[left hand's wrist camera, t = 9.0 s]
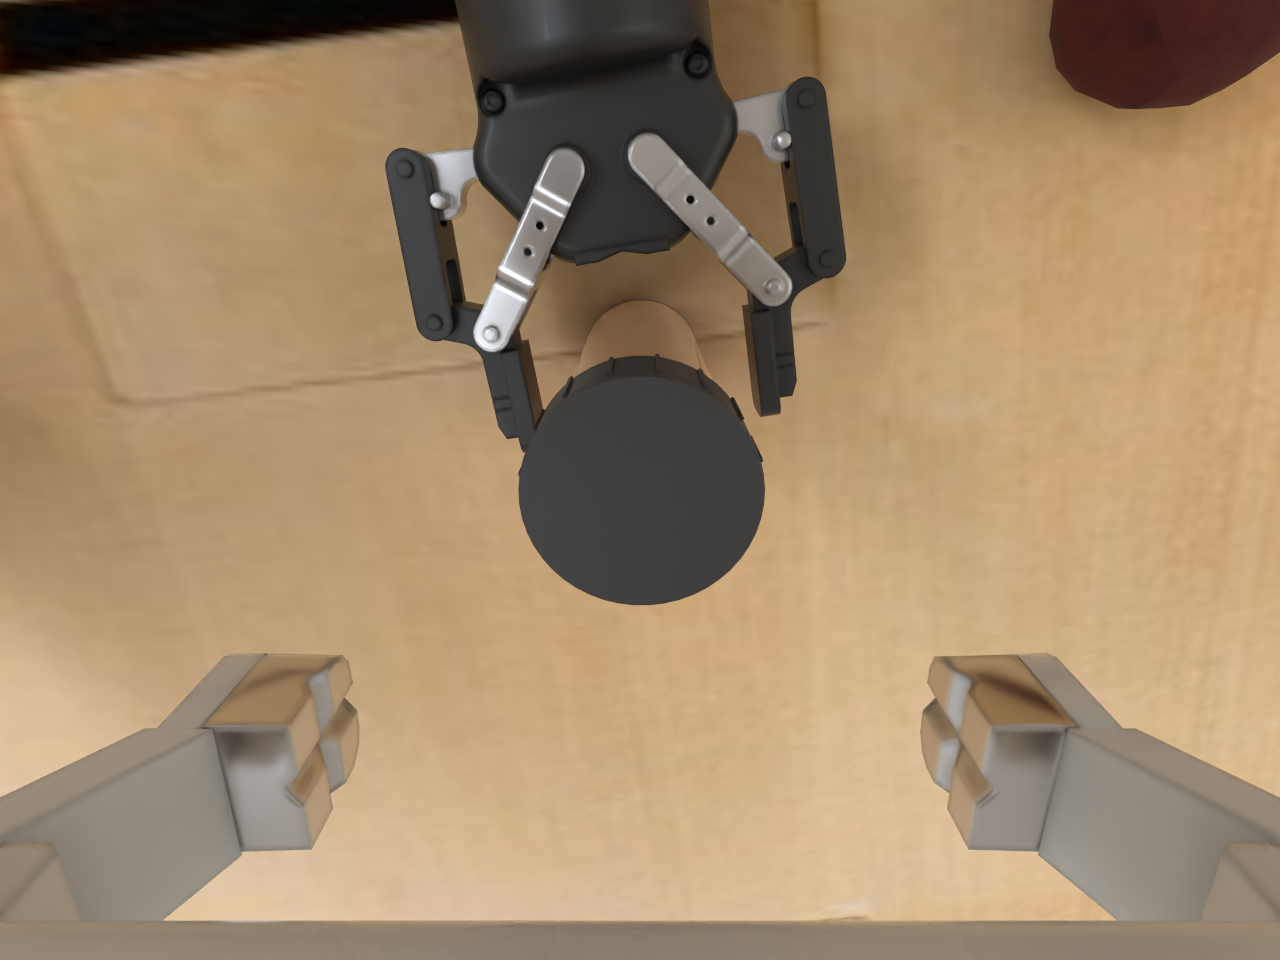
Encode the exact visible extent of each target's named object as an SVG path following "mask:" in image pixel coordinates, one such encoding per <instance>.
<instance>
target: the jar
mask: <svg viewBox="0 0 1280 960" xmlns="http://www.w3.org/2000/svg"><path fill="white" fill-rule="evenodd" d="M655 354H659V355H660V357H663V358H668V359H671V360H675V361H679V362H681V363H683V364H686V365H688V366H691V367H693V368H695V369H696V370H698V369H699V368H700V369H702V370H703V372H704V374H705V375H706V376H708V377H709V378H710V379H711V380H712V378H711V376H710V373H709V371H708V368H707V366H706V364H705V361H704V359H703V356H702V354H701V351H700V349H699V347H698V344H697V342H696V339H695V337H694V334H693V332H692V330H691V329H690V327H689V325H688V324H687V323H686V321H685V320H684V319H683V318H682V317H681V316H680V315H679V314H678V313H677V312H675V311H674V310H673V309H671V308H669V307H668V306H665V305H663V304H661V303H657V302H654V301H647V300H636V301H629V302H625V303H622V304H620V305H617V306H615V307H613V308H612V309H610V310H609V311H607V312H606V313H605V314H603V315H602V316H601V317H600V319H599V320H598V321H597V322H596V323H595V325H594V326H593V328H592V330H591V331H590V333H589V336H588V338H587V341H586V343H585V346H584V348H583V351H582V353H581V356H580V358H579V361H578V363H577V366H576V368H575V371H574V373H573V376H572V377H573V378H574V377H576V376H577V375H578V374H580V373H582V372H583V371H585V370H587V369H589V368H590V367H593V366H595V365H597V364H600V363H602V362H605V361H608V360H609V357H612V356H613V357H614V359H616V358H620V357H627V356H655Z"/></svg>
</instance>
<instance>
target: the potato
mask: <svg viewBox="0 0 1280 960" xmlns="http://www.w3.org/2000/svg"><path fill="white" fill-rule="evenodd" d="M1049 36H1050V40H1051V44H1052V49H1053V54H1054V58H1055V63H1056V68H1057V69H1058V70H1059V72H1060V73H1061V74H1062V75H1063V76H1064V77H1065V79H1066V80H1067V81H1068V82H1069V83H1070V85H1071V86H1072V87H1073V88H1074V89H1075V90H1076V91H1078V92H1080V93H1083V94H1086V95H1088V96H1090V97H1093V98H1095V99H1097V100H1099V101H1102V102H1104V103H1106V104H1109V105H1111V106H1113V107H1116V108H1122V109H1148V108H1166V107H1176V106H1185V105H1191V104H1193V103H1195V102H1197V101H1199V100H1201V99H1204V98H1206V97H1208V96H1210V95H1212V94H1214V93H1217V92H1219V91H1221V90H1223V89H1225V88H1226V87H1228V86H1230V85H1231V84H1233V83H1235V82H1236V81H1238V80H1240V79H1241V78H1243V77H1245V76H1246V75H1248V74H1249V73H1251V72H1252V71H1254V70H1255V69H1256V68H1258V67H1259V66H1261V65H1262V64H1263V63H1265V62H1266V61H1268V60H1269V59H1271V58H1272V57H1273V56H1275V55H1276V54H1278V53H1279V52H1280V0H1054V1H1053V9H1052V17H1051V26H1050V34H1049Z"/></svg>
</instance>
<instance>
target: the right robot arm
mask: <svg viewBox="0 0 1280 960" xmlns="http://www.w3.org/2000/svg"><path fill="white" fill-rule="evenodd" d="M455 3H456V7H457V12H458V17H459V22H460V26H461V31H462V36H463V40H464V45H465V50H466V55H467V59H468V64H469V69H470V74H471V78H472V83H473V88H474V93H475V97H476V102H477V108H478V131H477V136H476V140H475V143H474V147H473V148H468V149H459V150H450V151H440V152H431V153H423V152H419V151H415V150H411V149H407V148H399V149H396V150H394V151H392V152H391V153H390V154H389V156H388V158H387V160H386V165H385V168H386V174H387V179H388V184H389V190H390V195H391V200H392V205H393V210H394V215H395V220H396V225H397V230H398V235H399V240H400V245H401V250H402V255H403V260H404V265H405V270H406V275H407V280H408V285H409V290H410V295H411V300H412V305H413V310H414V315H415V320H416V325H417V328H418V330H419V332H420V333H421V334H422V336H424V337H425V338H426V339H428V340H431V341H441V340H447V341H453V342H458V343H463V344H467V345H469V346H471V347H473V348H474V349H476V350H477V351H478V353H479V354H480V355H481V357H482V359H483V362H484V367H485V371H486V375H487V379H488V384H489V388H490V392H491V396H492V399H493V405H494V409H495V413H496V418H497V422H498V426H499V428H500V429H501V431H502V432H503V434H504V435H505V437H506V438H507V439H511V438H517V437H519V442H520V446H521V449H522V451H523V452H526V450H527V448H528V445H529V443H530V441H531V439H532V436H533V434H534V433H532V432H531V431H532V428H533V426H534V424H535V422H536V420H537V418H538V416H539V414H540V412H541V410H542V409H543V406H542V402H541V397H540V392H539V387H538V383H537V378H536V373H535V369H534V364H533V359H532V354H531V350H530V345H529V340H521V336H520V331H519V330H520V327H521V325H522V323H523V321H524V319H525V317H526V315H527V313H528V311H529V308H530V306H531V304H532V302H533V300H534V298H535V296H536V294H537V292H538V290H539V288H540V286H541V285H542V283H543V281H544V279H545V277H546V275H547V273H548V271H549V269H550V266H551V264H552V262H553V260H554V258H555V257H557V258H558V259H560V260H563V261H565V262H569V263H575V264H576V266H578V265H584V264H590V263H596V262H600V261H602V260H604V259H606V258H608V257H611V256H613V255H615V254H617V253H619V252H633V253H642V254H649V253H655V252H661V251H667V250H670V247H673V246H675V245H676V244H678V243H679V242H680V241H682V240H683V239H684V238H685V237H686V236H687V235H688V233H689V232H691V233H692V234H693V235H694V236H695V237H696V238H697V239H698V241H699V242H700V243H701V244H702V245H703V246H704V247H705V248H706V249H707V250H708V251H709V252H710V253H711V254H712V255H713V256H714V257H715V258H716V259H717V260H718V261H719V262H720V263H721V264H722V265H723V266H724V267H725V268H726V269H727V270H728V271H729V272H730V273H731V274H732V275H733V276H734V277H735V278H736V279H737V280H738V281H739V282H740V283H741V284H742V285H743V286H744V287H745V288H746V289H747V295H748V305H743V306H742V308H743V317H744V326H745V335H746V344H747V353H748V362H749V371H750V380H751V389H752V397H753V402H754V406H755V408H756V410H757V412H758V414H759V415H760V417H763V416H769V415H776V414H780V412H781V406H780V397H786V396H792V395H793V391H794V388H795V385H796V381H797V379H796V368H795V356H794V345H793V334H792V323H791V305H792V302H793V300H794V298H795V297H796V295H797V294H798V293H799V292H800V291H802V290H803V289H805V288H807V287H809V286H810V285H812V284H814V283H816V282H818V281H819V280H821V279H823V278H831V277H834V276H835V275H837V274H838V273H839V272H840V271H841V270H842V269H843V267H844V265H845V262H846V252H845V244H844V236H843V228H842V220H841V212H840V204H839V196H838V188H837V180H836V172H835V164H834V156H833V148H832V140H831V132H830V124H829V116H828V108H827V100H826V93H825V89H824V87H823V85H822V84H821V82H820V81H818V80H817V79H815V78H813V77H802V78H800V79H798V80H796V81H794V82H792V83H791V84H789V85H788V86H787V87H786V88H785V89H782V90H778V91H774V92H770V93H766V94H762V95H758V96H753V97H749V98H745V99H741V100H737V101H733V102H732V100H731V99H730V98H729V96H728V95H727V93H726V92H725V90H724V88H723V86H722V84H721V82H720V80H719V77H718V74H717V71H716V66H715V60H714V51H713V42H712V33H711V24H710V15H709V6H708V0H455ZM737 135H746V136H748V137H750V138H751V139H752V140H753V141H754V142H755V144H756V146H757V149H758V152H759V154H760V156H761V158H762V159H763V160H765V161H766V162H768V163H772V164H777V163H780V164H781V171H782V177H783V184H784V191H785V198H786V204H787V211H788V218H789V225H790V232H791V238H792V245H793V247H792V248H790V249H789V250H787V251H785V252H783V253H782V254H780V255H778V256H776V257H774V258H772V257H771V256H770V255H769V254H768V253H767V252H766V251H765V250H764V249H763V248H762V247H761V246H760V244H759V243H758V242H757V241H756V240H755V239H754V238H753V237H752V236H751V234H750V233H749V232H748V230H747V229H746V228H745V227H744V226H743V225H742V224H741V223H740V222H739V221H738V220H737V219H736V217H735V216H734V215H733V214H732V213H731V212H730V211H729V210H728V209H727V208H726V207H725V206H724V205H723V204H722V203H721V202H720V201H719V200H718V199H717V197H716V196H715V195H714V194H713V193H712V192H711V189H712V187H713V185H714V183H715V181H716V180H717V178H718V176H719V174H720V172H721V170H722V168H723V166H724V164H725V162H726V160H727V158H728V156H729V154H730V152H731V150H732V148H733V146H734V143H735V141H736V138H737ZM478 180H479V181H480V183H481V184H482V185H483V187H484V188H485V189H486V190H487V191H488V192H489V193H490V194H491V195H492V196H493V197H494V198H495V199H496V200H497V201H498V202H499V203H500V204H501V205H502V206H503V207H504V208H505V209H506V210H507V211H508V212H509V213H510V214H511V215H512V216H513V217H514V218H515V219H516V220H517V221H518V222H519V224H518V226H517V229H516V231H515V233H514V235H513V237H512V240H511V242H510V244H509V246H508V249H507V251H506V253H505V255H504V257H503V260H502V262H501V264H500V266H499V269H498V271H497V274H496V279H495V282H494V284H493V287H492V289H491V291H490V293H489V295H488V298H487V300H486V302H485V304H484V305H482V304H477V303H471V302H466V299H465V293H464V287H463V281H462V276H461V270H460V264H459V259H458V253H457V247H456V242H455V236H454V230H453V224H452V220H454V219H457V218H459V217H460V216H462V215H463V213H464V212H465V210H466V207H467V193H468V190H469V188H470V186H471V185H472V184H473V183H475V182H476V181H478Z"/></svg>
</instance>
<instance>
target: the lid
mask: <svg viewBox="0 0 1280 960" xmlns="http://www.w3.org/2000/svg"><path fill="white" fill-rule="evenodd" d="M743 419H744V417H743V415H742V413H741V411H740V409H739V407H738V405H737V403H736V400H735V399H734V398H733V397H732V398H731V399H730V398H729V396H728V395H727V394H726V393H725V392H724V391H723V390H722V389H721V388H720V387H719V385H718V384H717V383H715V382H714V381H713V380H711V379H710V378H709V377H708V376H706V375H705V374H704V372H703V370H702V369H700V368H699V369H698V370H696V369H695V368H693V367H691V366H688V365H686V364H683V363H681V362H679V361H675V360H671V359H668V358H663V357H660V355H659V354H655V356H627V357H620V358H616V359H614V357H613V356H612V357H609V360H608V361H605V362H602V363H600V364H597V365H595V366H593V367H590V368H589V369H587V370H585V371H583V372H582V373H580V374H578V375H577V376H576V377H574V378H573V377H572V376H571V377H569V379H568V381H567V383H566V385H565V386H564V387H563V388H562V389H561V390H560V391H559V392H558V393H557V394H556V395H555V397H554V398H553V399H552V401H551V402H550V403H549V405H548V406H547V408H546V410H544V409H542V410H541V412H540V414H539V416H538V418H537V420H536V422H535V424H534V426H533V428H532V431H531V432H532V433H534V434H533V436H532V439H531V441H530V443H529V445H528V448H527V450H526V453H525V455H524V458H523V462H522V466H521V468H520V471H519V475H518V476H520V477H519V505H520V510H521V515H522V519H523V522H524V525H525V528H526V531H527V533H528V535H529V537H530V539H531V541H532V543H533V545H534V547H535V548H536V550H537V551H538V553H539V554H540V555H541V557H542V558H543V559H544V561H545V562H546V563H547V564H548V565H549V566H550V567H551V568H552V570H554V571H555V572H556V573H557V574H558V575H559V576H561V577H562V578H563V579H564V580H566V581H567V582H569V583H570V584H571V585H573V586H574V587H576V588H578V589H580V590H582V591H584V592H586V593H588V594H590V595H592V596H595V597H598V598H601V599H603V600H607V601H611V602H615V603H621V604H629V605H654V604H663V603H668V602H672V601H676V600H680V599H683V598H686V597H688V596H691V595H694V594H696V593H698V592H700V591H702V590H704V589H706V588H707V587H709V586H710V585H712V584H713V583H715V582H716V581H718V580H719V579H720V578H722V577H723V576H724V575H725V574H726V573H727V572H729V571H730V570H731V569H732V568H733V567H734V565H735V564H736V563H737V562H738V561H739V560H740V559H741V557H742V556H743V555H744V553H745V552H746V550H747V549H748V547H749V546H750V544H751V542H752V540H753V538H754V536H755V534H756V532H757V529H758V526H759V523H760V520H761V516H762V511H763V506H764V495H765V485H764V473H763V469H762V464H761V462H763V459H762V456H761V454H760V452H759V450H758V448H757V446H756V444H755V442H754V440H753V438H752V436H750V434H749V431H748V429H747V427H746V425H745V423H744V421H743Z"/></svg>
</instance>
